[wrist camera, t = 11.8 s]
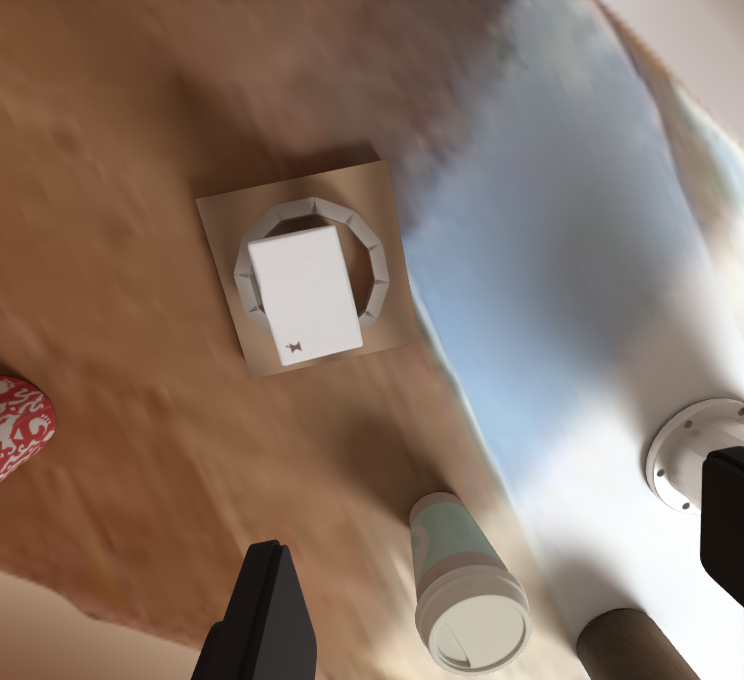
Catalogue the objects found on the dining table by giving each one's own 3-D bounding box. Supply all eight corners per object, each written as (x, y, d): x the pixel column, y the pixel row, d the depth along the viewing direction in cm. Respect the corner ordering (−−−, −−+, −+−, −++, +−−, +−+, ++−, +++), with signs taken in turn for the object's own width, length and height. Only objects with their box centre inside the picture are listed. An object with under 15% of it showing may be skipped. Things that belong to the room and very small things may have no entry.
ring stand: (383, 164, 29) (391, 151, 25) (414, 335, 33) (426, 350, 29) (204, 201, 29) (180, 195, 24) (256, 371, 33) (244, 391, 28)
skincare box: (355, 307, 30) (365, 350, 18) (302, 319, 30) (279, 370, 18) (337, 229, 28) (336, 221, 17) (281, 242, 28) (241, 243, 17)
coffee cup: (400, 478, 36) (428, 588, 25) (485, 480, 37) (550, 588, 26) (390, 551, 39) (413, 684, 27) (471, 552, 39) (526, 680, 28)
